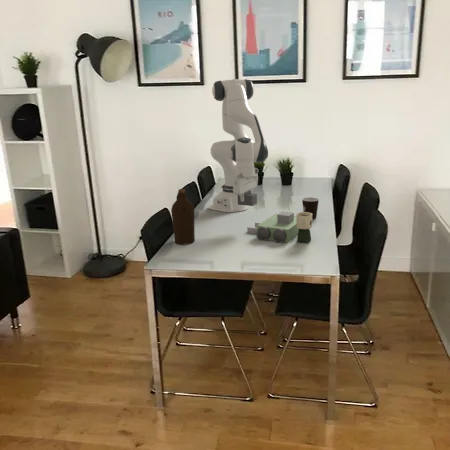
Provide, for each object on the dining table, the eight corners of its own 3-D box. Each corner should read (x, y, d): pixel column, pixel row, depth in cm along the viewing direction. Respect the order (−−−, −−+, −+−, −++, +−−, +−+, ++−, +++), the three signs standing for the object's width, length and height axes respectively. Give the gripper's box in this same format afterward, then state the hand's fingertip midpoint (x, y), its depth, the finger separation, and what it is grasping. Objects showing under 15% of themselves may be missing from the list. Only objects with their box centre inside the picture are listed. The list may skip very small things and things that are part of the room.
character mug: (313, 244, 231) (314, 217, 227) (297, 245, 231) (298, 217, 227) (310, 237, 241) (310, 210, 237) (294, 237, 241) (295, 211, 237)
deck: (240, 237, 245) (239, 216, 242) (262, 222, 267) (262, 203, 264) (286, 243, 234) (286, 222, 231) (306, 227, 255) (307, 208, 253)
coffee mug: (318, 220, 267) (318, 201, 264) (301, 219, 269) (301, 201, 266) (318, 214, 278) (319, 196, 275) (302, 213, 280) (302, 195, 277)
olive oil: (200, 241, 241) (198, 189, 234) (183, 246, 234) (179, 193, 227) (186, 236, 249) (183, 186, 241) (168, 241, 242) (165, 190, 234)
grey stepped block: (237, 204, 253) (237, 191, 251) (242, 202, 257) (242, 189, 255) (252, 206, 249) (252, 192, 247) (256, 203, 253) (256, 190, 251)
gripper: (241, 176, 239) (242, 205, 243) (259, 168, 256) (260, 195, 260) (229, 175, 242) (230, 204, 245) (248, 168, 259) (249, 194, 263)
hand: (245, 199), depth 253 cm, fingers closed on grey stepped block, 5 cm apart
